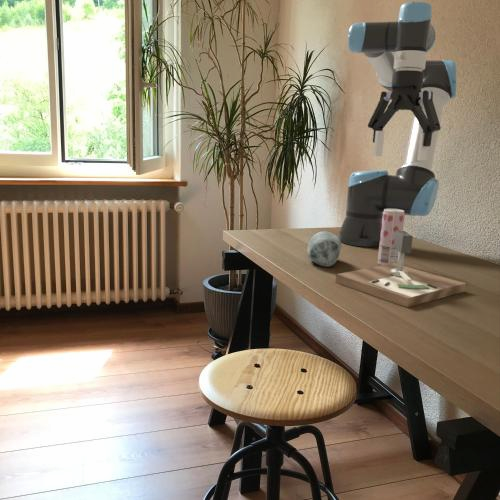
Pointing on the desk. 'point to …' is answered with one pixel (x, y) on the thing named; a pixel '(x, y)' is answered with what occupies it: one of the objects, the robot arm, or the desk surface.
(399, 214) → the beverage can
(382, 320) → the desk surface
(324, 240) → the pale teal yarn skein
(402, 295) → the dial board
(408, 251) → the grey piece
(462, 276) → the desk surface
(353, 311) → the desk surface
